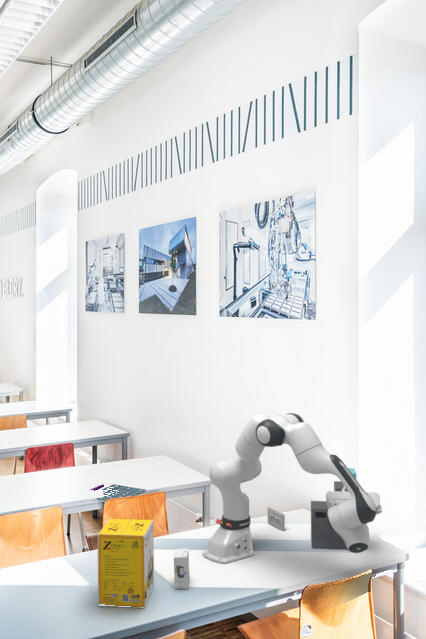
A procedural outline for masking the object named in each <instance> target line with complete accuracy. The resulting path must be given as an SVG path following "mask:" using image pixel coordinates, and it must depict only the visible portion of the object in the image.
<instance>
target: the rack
mask: <svg viewBox="0 0 426 639" xmlns="http://www.w3.org/2000/svg"><path fill="white" fill-rule="evenodd" d="M343 488H344V485H343V483H342V482H341V481H338V480H335V481H333V491H340V492H342V489H343ZM345 492H348V490H346V491H345ZM327 510H328V507H327V502H326V500H325V501H322V500H310V543H311V544H310V545H311V549H321V550H322V549H323V550H340V551H341V550H342V551H349V550H348V549H347V546H346V544H345V542H344V540H343V539H342V537H340V536H338V535H337V534H335V533H333V532H332V531H331V530H330V529H329V527H328V525H327V521H326V513H327Z"/></svg>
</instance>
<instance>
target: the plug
mask: <svg viewBox="0 0 426 639" xmlns="http://www.w3.org/2000/svg"><path fill="white" fill-rule="evenodd" d="M347 468H348V467H347ZM348 469H349V471H350V472H351V473H352V475H353V476H354V477H355V479H356V480H357V472H356V468H355V467H353V468H351V467H350V468H348Z"/></svg>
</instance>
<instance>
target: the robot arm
mask: <svg viewBox="0 0 426 639" xmlns="http://www.w3.org/2000/svg"><path fill="white" fill-rule="evenodd" d="M284 444H285V445H288V446H289V447H290V449H291V450H292V452H293V454H294V457H295V459H296V461H297V463H298V465H300V468H301V469H302V470H303V471H304V472H306V473H309V474H313V475H321V474H322V475H323V474H325V475H326V474H331V475H334V476H336V477H337V479H338V480H340V481H341V482H342V483H343V485H344V488H343V489H342V492H340V491H334V490H333V491H332V490H329V491H327V492H326V494H325V501H326V502H327V507H328V510H327V513H326V521H327V525H328V527H329V529H330V530H331V531H332V532H333V533H335V534H337V535H338V536H340V537H342V539H343V540H344V542H345V544H346V546H347V549H348V550H347V551H348V552H350V553H353V554H360V553H363V552H366V550H369V547H370V542H371V541H370V528H369V525H368V524H369V523H372V522H374V521H375V518H376V516H377V515H379V514H382V512H383V507H382V505H381V504H380V503H381V498H380V496H381V495H380V494H379V493H378V492H372V491H371V492H369V491H368V492H367V491H366V490H364V488H363V487H362V485H361V484H360V483H359V481H358V480H357V478H356V479H355V477H354V476H353V475H352V473H351V472H350V471H349V469H348V467H347V465H346V464H345V463H344V461H343V460H342V459H341V458H340V457H339V456H338V455H337V454H332V453H330V452H329V451H328V450H327V449H326V448H325V447H324V445H323V443H322V442H321V439H320V438H319V436H318V434H317V433H316V431H315V430H314V429H313V428H312V426H311V425H310V424H309V423H307V422H305V421H304V419H303V418H302V416H301V415H299V414H297V413H293V412H292V413H289V412H288V413H285V414H279V415H275V416H272V417H270V416H268V415H267V414H264V413H256V414H255V415H254V416H252V417H251V419H250V420H249V421H248V422H247V423H246V425H245V426H244V428H243V430H242V432H241V434H240V435H239V437H238V439H237V441H236V442H235V445H234V447H235V451H236V455H235V456H233V457H230V458H226V459H222V460H219V461H218V462H215V463H214V464H213V465H211V467H210V468H209V473H208V474H209V479H210V482H211V483H212V485H213V486H215V487H216V488H217V490H218V491H219V492H220V495H221V498H222V516H221V519H220V518H216V520H215V523H216V524H218V525H219V527H218V528H217V529H216V531H215V532H214V533H213V534H212V535H211V537H210V538H209V540H208V546H207V548H206V549H204V550H203V551H202V556H203V557H204V558H206V559H208V560H210V561H213V562H216V563H220V564H228V563H232V562H235V561H239V560H242V559H246V558H249V557H252V556H254V555H255V551H254V546H253V540H252V534H251V533H252V532H251V528H250V527H251V523H252V522H251V521H252V520H251V515H250V498H249V496H248V495H247V494H246V493H245V492H243V491H242V488H241V484H242V483H246V482H247V483H248V482H249V481H250V482H251V481H252V480H254V479H255V478H257V477H258V476H260V475H261V473H262V470H263V467H262V462H261V460H260V457H261V455H262V454H263V452H264V449H265V448H266V447H267V448H274V447H280V446H283V445H284ZM346 490H348V492H345V491H346Z"/></svg>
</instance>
